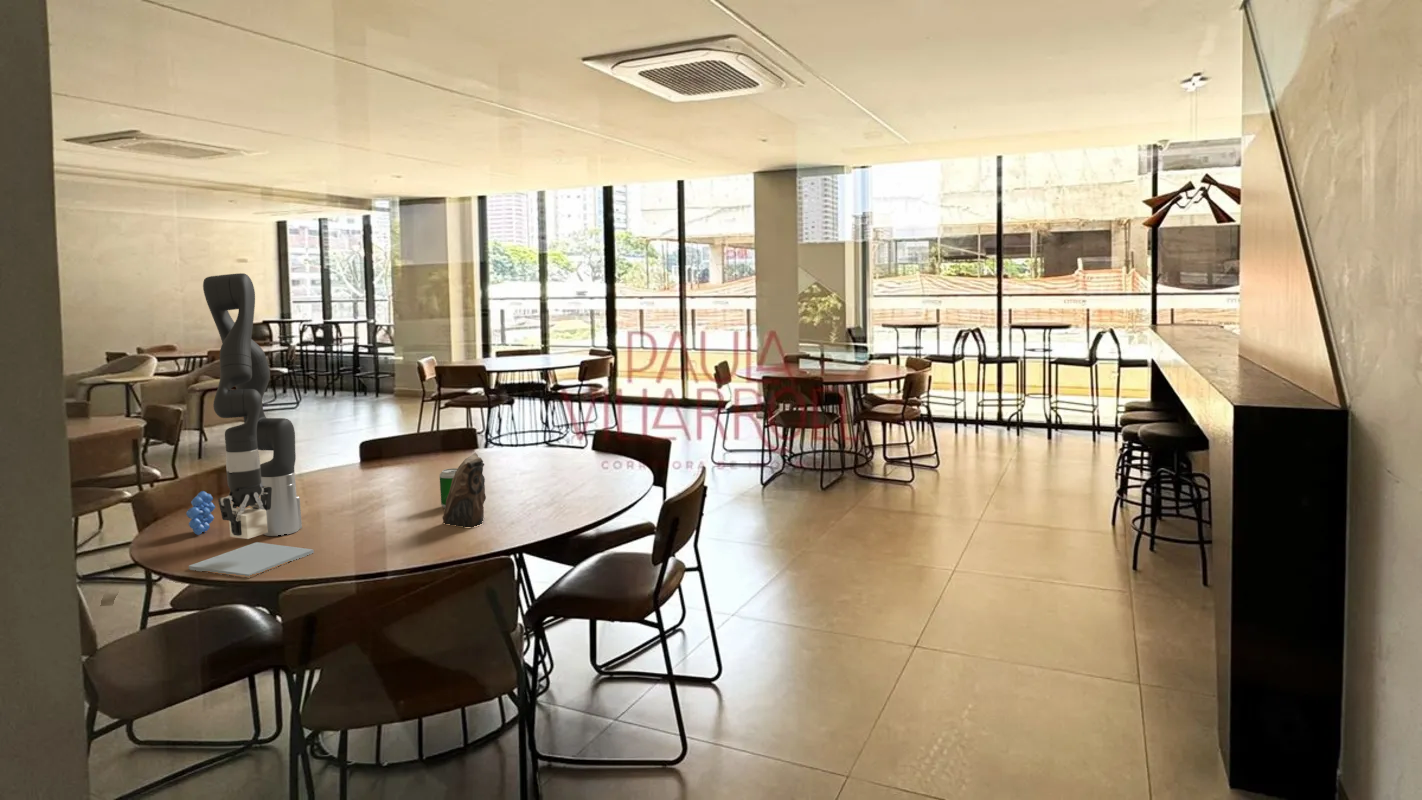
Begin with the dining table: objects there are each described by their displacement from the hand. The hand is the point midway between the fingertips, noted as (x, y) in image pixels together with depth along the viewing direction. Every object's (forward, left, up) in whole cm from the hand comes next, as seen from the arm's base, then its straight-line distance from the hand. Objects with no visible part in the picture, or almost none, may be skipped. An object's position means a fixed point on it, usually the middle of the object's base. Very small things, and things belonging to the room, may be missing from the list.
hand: (248, 531), depth 212 cm
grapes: (-14, -36, -8) cm, 39 cm away
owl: (-47, +31, -8) cm, 57 cm away
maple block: (0, 0, -1) cm, 1 cm away
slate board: (0, 0, -8) cm, 8 cm away
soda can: (-60, +17, -8) cm, 63 cm away
